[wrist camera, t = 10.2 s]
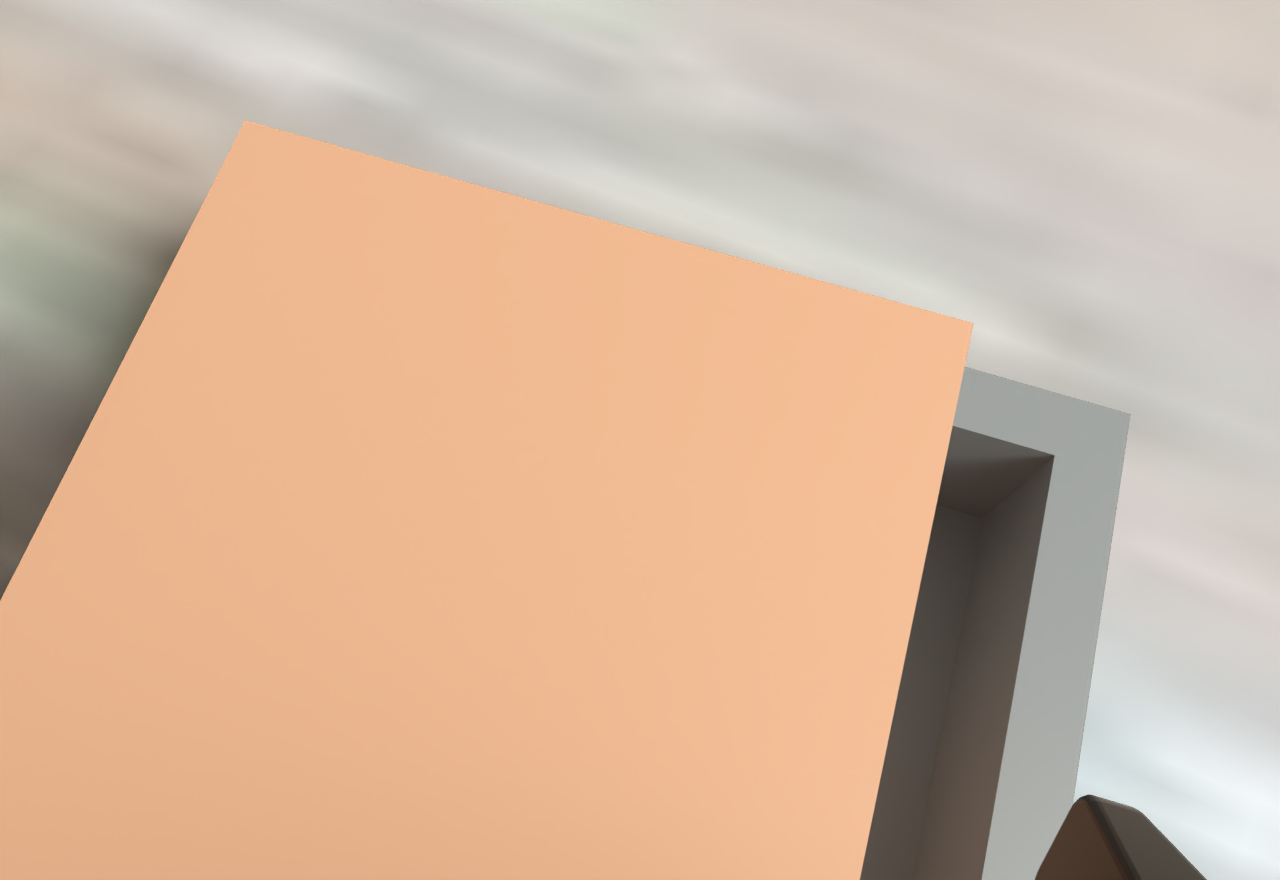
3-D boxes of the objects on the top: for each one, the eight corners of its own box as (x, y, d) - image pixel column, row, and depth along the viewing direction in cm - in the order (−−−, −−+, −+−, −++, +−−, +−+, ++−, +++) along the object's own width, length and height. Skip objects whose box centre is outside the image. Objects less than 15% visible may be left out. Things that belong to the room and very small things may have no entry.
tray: (867, 1410, 16) (957, 1584, 12) (-59, 1092, 16) (-249, 1159, 13) (1030, 496, 20) (1130, 414, 17) (311, 286, 21) (254, 163, 18)
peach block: (652, 974, 17) (793, 1201, 5) (336, 872, 17) (-148, 892, 6) (736, 651, 18) (973, 323, 7) (447, 565, 19) (246, 120, 8)
